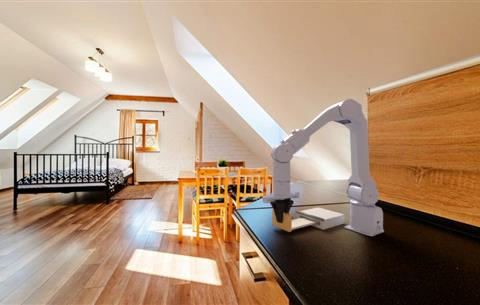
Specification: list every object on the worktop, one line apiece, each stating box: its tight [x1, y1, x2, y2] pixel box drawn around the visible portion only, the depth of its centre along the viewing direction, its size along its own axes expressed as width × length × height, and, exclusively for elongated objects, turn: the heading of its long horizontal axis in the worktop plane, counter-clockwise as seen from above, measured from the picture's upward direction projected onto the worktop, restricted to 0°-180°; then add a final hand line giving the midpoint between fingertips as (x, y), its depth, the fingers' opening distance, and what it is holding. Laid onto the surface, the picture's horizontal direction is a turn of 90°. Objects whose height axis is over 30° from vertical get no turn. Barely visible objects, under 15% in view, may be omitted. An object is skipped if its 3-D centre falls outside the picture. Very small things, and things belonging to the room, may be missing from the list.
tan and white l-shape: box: [271, 209, 320, 233], centre depth 82 cm, size 17×8×5 cm, turn 122°
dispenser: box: [295, 207, 346, 230], centre depth 88 cm, size 12×12×4 cm
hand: (281, 221), depth 78 cm, fingers closed on tan and white l-shape
